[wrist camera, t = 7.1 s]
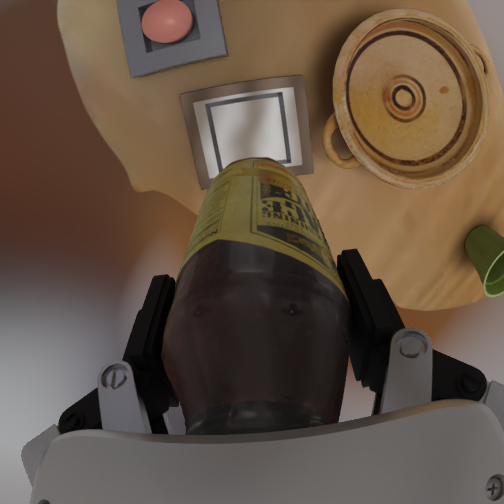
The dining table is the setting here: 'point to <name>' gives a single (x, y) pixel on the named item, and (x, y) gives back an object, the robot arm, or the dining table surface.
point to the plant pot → (487, 258)
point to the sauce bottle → (257, 310)
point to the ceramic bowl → (409, 99)
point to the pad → (249, 125)
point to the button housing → (177, 54)
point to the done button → (167, 21)
